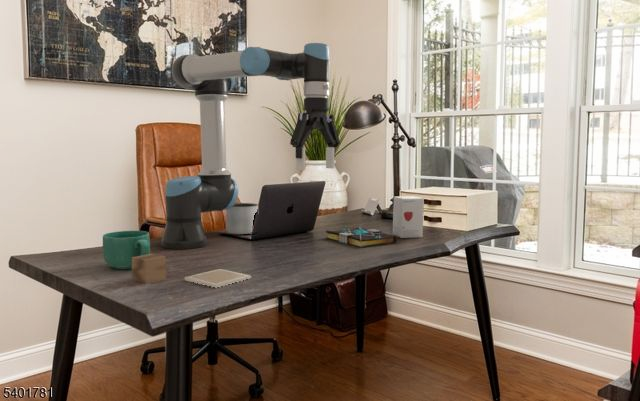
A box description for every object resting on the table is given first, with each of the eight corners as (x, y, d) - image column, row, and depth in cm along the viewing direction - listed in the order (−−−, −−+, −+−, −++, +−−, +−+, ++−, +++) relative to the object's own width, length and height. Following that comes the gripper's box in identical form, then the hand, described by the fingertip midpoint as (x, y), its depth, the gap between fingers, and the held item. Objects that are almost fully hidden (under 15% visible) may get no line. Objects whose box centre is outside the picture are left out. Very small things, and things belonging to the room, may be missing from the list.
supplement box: (400, 238, 200) (401, 198, 198) (392, 234, 208) (392, 196, 207) (423, 237, 202) (424, 198, 200) (413, 233, 210) (414, 195, 209)
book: (398, 244, 190) (398, 230, 190) (361, 249, 181) (361, 235, 180) (360, 235, 208) (360, 222, 208) (324, 239, 199) (324, 226, 198)
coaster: (184, 280, 138) (184, 277, 138) (220, 271, 147) (219, 268, 147) (216, 288, 130) (216, 284, 130) (251, 278, 140) (251, 275, 140)
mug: (96, 266, 153) (95, 233, 152) (138, 259, 161) (137, 228, 160) (121, 277, 141) (120, 241, 140) (165, 269, 150) (164, 235, 149)
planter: (222, 231, 212) (221, 203, 211) (252, 229, 218) (252, 202, 217) (231, 236, 201) (231, 207, 200) (263, 234, 207) (263, 205, 206)
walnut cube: (132, 280, 138) (131, 257, 137) (152, 275, 143) (151, 253, 142) (146, 284, 134) (145, 260, 134) (166, 279, 139) (165, 256, 138)
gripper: (297, 93, 147) (297, 171, 149) (351, 99, 166) (350, 168, 168) (277, 95, 152) (277, 170, 154) (332, 100, 171) (332, 167, 173)
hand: (315, 169), depth 161 cm, fingers open, 13 cm apart
